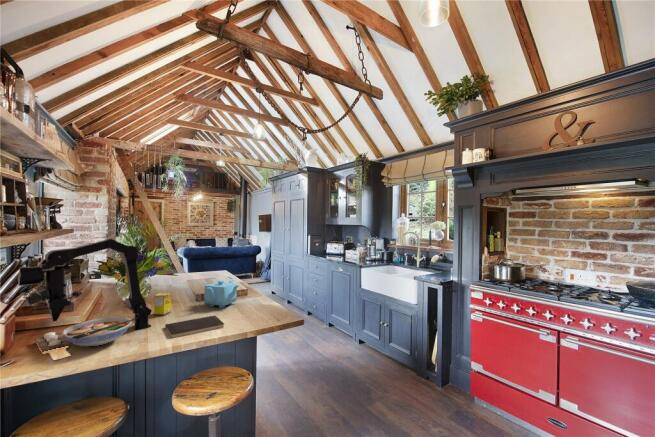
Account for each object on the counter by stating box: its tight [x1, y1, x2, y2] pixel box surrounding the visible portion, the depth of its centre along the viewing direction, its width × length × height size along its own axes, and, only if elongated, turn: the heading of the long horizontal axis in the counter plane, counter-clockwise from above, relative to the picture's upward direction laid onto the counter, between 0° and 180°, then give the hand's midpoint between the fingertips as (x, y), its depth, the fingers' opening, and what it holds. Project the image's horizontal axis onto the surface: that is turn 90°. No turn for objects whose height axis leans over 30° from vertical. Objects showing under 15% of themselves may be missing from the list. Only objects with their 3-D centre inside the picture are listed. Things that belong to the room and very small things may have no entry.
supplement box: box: [153, 292, 172, 317], centre depth 162 cm, size 6×6×11 cm
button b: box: [46, 335, 58, 343], centre depth 121 cm, size 3×3×2 cm
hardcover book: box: [164, 315, 225, 339], centre depth 142 cm, size 16×23×2 cm
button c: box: [43, 331, 56, 340], centre depth 124 cm, size 3×3×2 cm
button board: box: [34, 332, 71, 352], centre depth 121 cm, size 17×8×2 cm, turn 52°
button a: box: [49, 340, 61, 346], centre depth 118 cm, size 3×3×2 cm
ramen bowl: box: [62, 316, 138, 347], centre depth 123 cm, size 25×23×8 cm
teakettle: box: [203, 279, 241, 309], centre depth 179 cm, size 19×19×15 cm
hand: (54, 320), depth 118 cm, fingers closed
